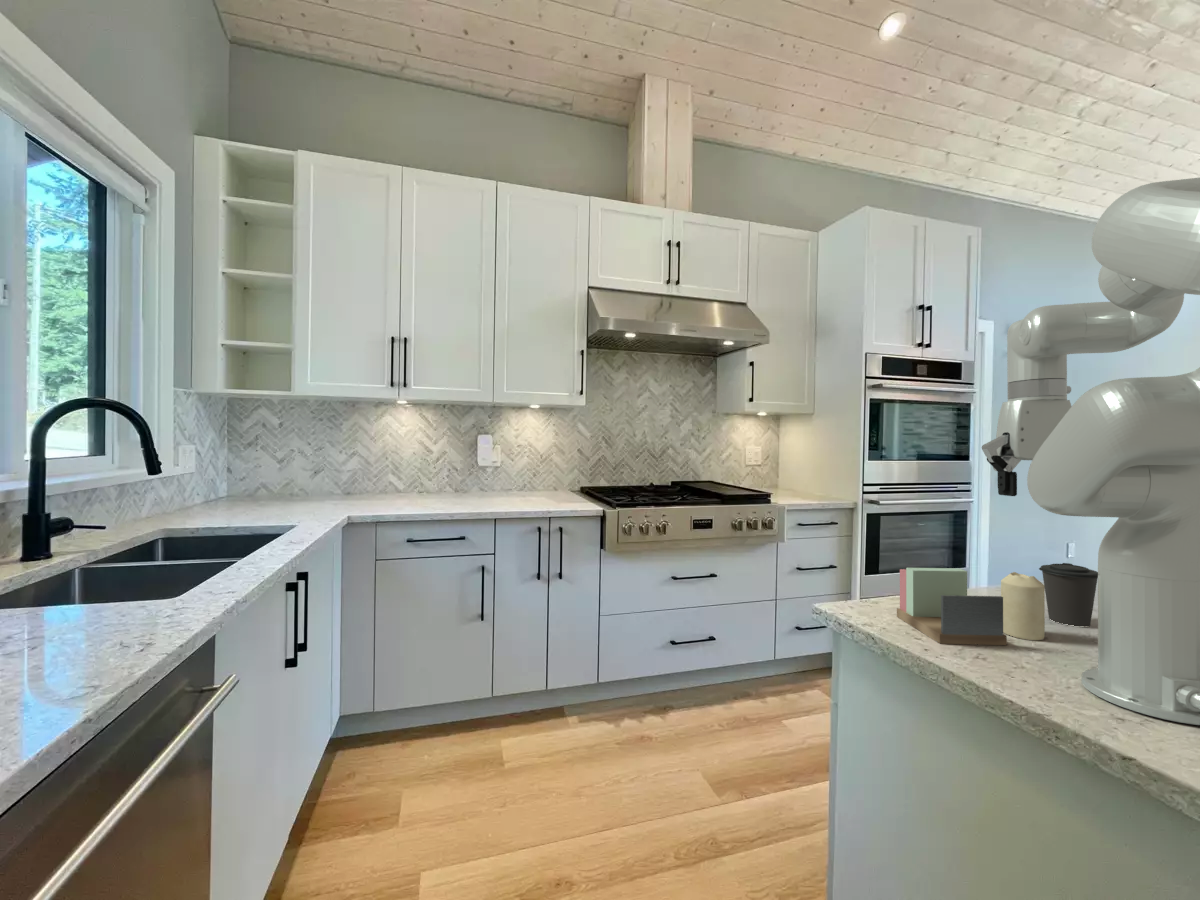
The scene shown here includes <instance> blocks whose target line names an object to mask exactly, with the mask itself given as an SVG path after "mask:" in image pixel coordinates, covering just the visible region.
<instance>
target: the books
mask: <svg viewBox="0 0 1200 900" xmlns="http://www.w3.org/2000/svg"><path fill="white" fill-rule="evenodd" d="M941 595H959V596H968V571H967V570H964V569H961V568H958V567H957V568H956V567H955V568H954V567H953V568H952V567H949V568H947V567H906V568H903V569H902V568H900V569H899V608H900V609H901V610H903V611H905V612H906V613H908V614H910V615H911V616H913V617H941Z"/></svg>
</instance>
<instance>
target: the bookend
mask: <svg viewBox="0 0 1200 900" xmlns="http://www.w3.org/2000/svg"><path fill="white" fill-rule="evenodd" d="M941 633H942V634H953V635H999V636H1003V634H1004V633H1003V597H1002V596H1001V595H967V596H959V595H941Z"/></svg>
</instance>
